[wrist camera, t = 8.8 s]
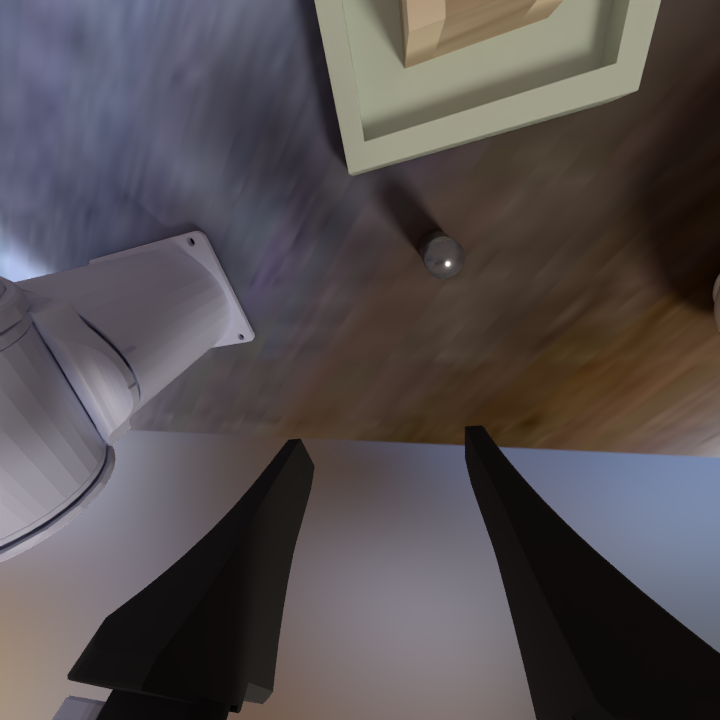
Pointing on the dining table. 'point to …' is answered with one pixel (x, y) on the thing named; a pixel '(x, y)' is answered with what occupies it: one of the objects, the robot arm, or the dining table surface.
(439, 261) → the post
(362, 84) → the sage tray
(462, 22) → the wooden frame with tab
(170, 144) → the dining table surface
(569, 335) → the dining table surface
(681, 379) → the dining table surface
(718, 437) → the dining table surface
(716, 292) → the lidded jar
